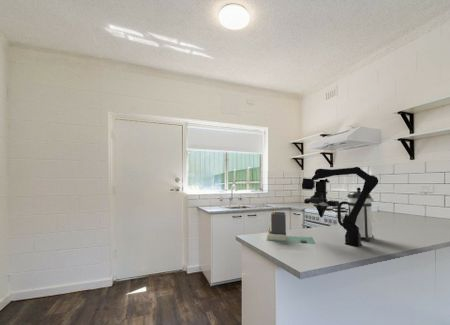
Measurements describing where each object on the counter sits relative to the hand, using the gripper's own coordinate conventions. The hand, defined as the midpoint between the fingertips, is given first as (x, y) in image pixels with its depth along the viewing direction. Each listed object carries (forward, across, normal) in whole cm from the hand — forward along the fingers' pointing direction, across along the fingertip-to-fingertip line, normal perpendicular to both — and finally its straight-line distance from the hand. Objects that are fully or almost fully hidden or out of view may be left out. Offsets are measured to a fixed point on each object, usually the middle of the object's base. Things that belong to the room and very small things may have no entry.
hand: (321, 217), depth 131 cm
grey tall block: (+12, -16, -18) cm, 28 cm away
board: (+13, -11, -14) cm, 23 cm away
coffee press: (+13, +11, +22) cm, 28 cm away
